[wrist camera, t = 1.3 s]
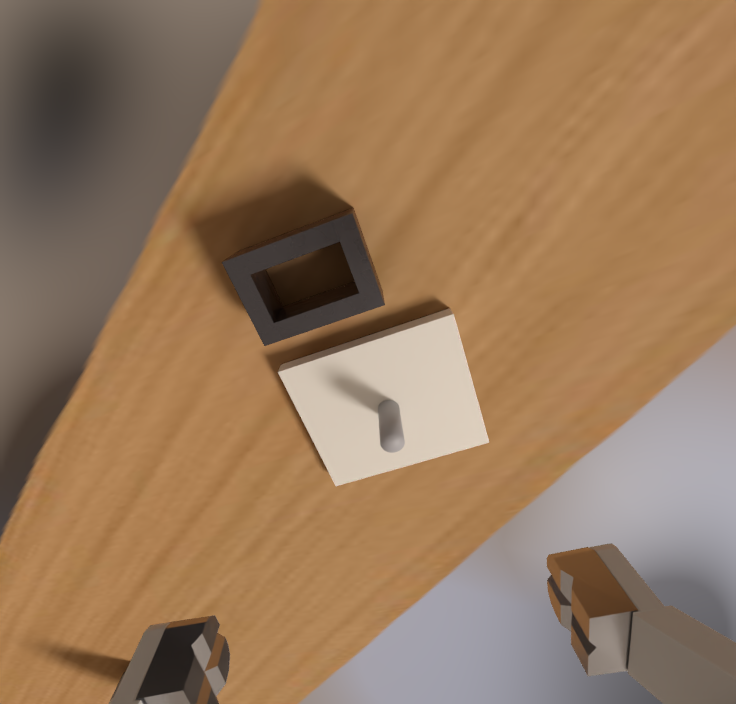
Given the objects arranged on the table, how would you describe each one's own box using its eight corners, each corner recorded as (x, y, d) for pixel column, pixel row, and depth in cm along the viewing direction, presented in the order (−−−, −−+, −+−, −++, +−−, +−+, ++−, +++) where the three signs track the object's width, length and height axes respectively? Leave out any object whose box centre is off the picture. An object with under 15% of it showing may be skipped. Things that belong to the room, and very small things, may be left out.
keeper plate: (450, 308, 35) (468, 337, 29) (485, 433, 40) (506, 478, 34) (280, 364, 37) (265, 402, 31) (336, 475, 42) (332, 526, 36)
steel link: (353, 207, 31) (352, 213, 27) (382, 290, 34) (384, 304, 30) (237, 251, 32) (221, 262, 29) (274, 327, 35) (264, 346, 31)
